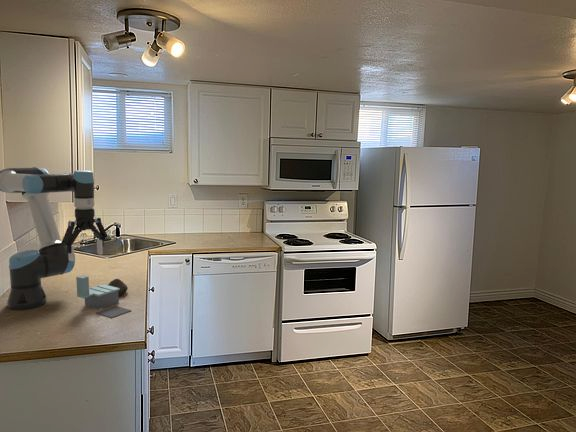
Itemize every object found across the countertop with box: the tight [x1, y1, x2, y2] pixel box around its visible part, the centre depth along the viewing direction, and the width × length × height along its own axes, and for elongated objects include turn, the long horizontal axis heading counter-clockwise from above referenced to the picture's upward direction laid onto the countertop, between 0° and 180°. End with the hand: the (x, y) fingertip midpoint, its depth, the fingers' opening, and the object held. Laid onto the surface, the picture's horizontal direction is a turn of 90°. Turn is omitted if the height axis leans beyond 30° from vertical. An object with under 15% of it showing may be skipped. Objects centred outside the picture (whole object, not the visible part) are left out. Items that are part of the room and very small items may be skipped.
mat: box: [95, 305, 132, 319], centre depth 191 cm, size 10×10×1 cm
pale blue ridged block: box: [75, 274, 120, 299], centre depth 197 cm, size 11×16×9 cm
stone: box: [107, 278, 129, 298], centre depth 214 cm, size 10×8×10 cm
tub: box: [84, 291, 119, 310], centre depth 200 cm, size 10×10×6 cm
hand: (86, 257), depth 189 cm, fingers open, 13 cm apart
